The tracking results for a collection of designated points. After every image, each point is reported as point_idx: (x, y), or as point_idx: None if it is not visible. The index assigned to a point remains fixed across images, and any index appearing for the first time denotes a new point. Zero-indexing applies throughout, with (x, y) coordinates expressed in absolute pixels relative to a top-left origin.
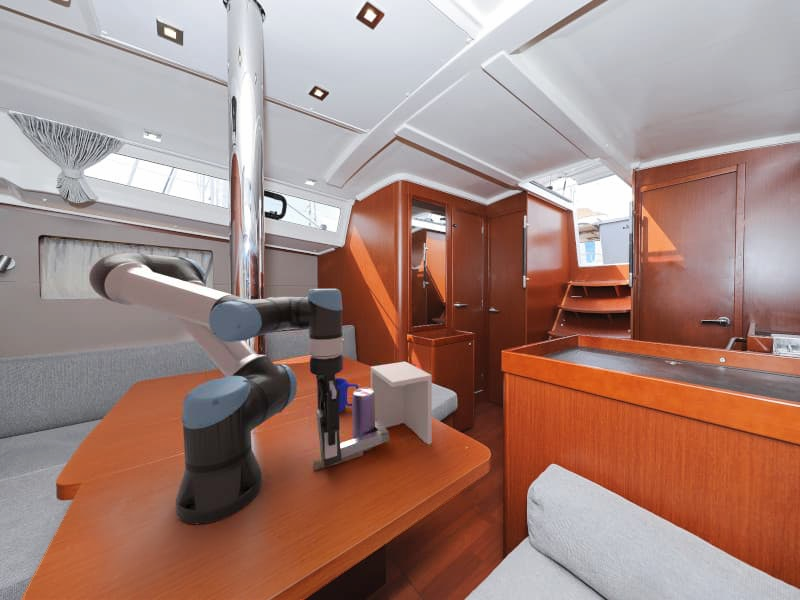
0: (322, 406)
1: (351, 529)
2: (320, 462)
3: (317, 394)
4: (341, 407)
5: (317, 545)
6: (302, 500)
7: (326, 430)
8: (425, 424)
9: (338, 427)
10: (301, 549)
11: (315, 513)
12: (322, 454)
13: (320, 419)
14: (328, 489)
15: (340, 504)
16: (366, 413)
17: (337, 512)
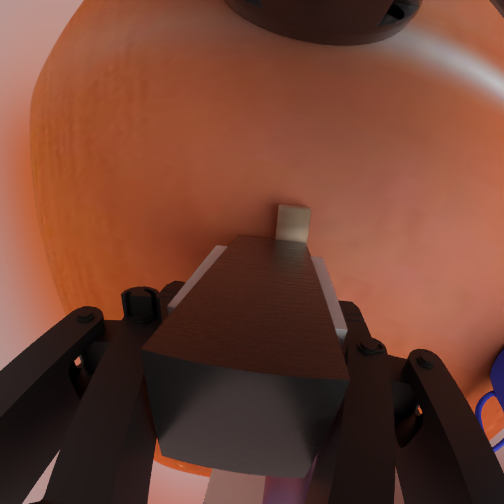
0: (334, 447)
1: (55, 221)
2: (282, 231)
3: (496, 468)
4: (495, 378)
5: (51, 154)
6: (163, 136)
7: (124, 313)
8: (219, 485)
9: (81, 369)
10: (56, 126)
11: (109, 161)
12: (261, 246)
13: (152, 340)
14: (168, 214)
15: (108, 224)
16: (266, 478)
17: (92, 210)
